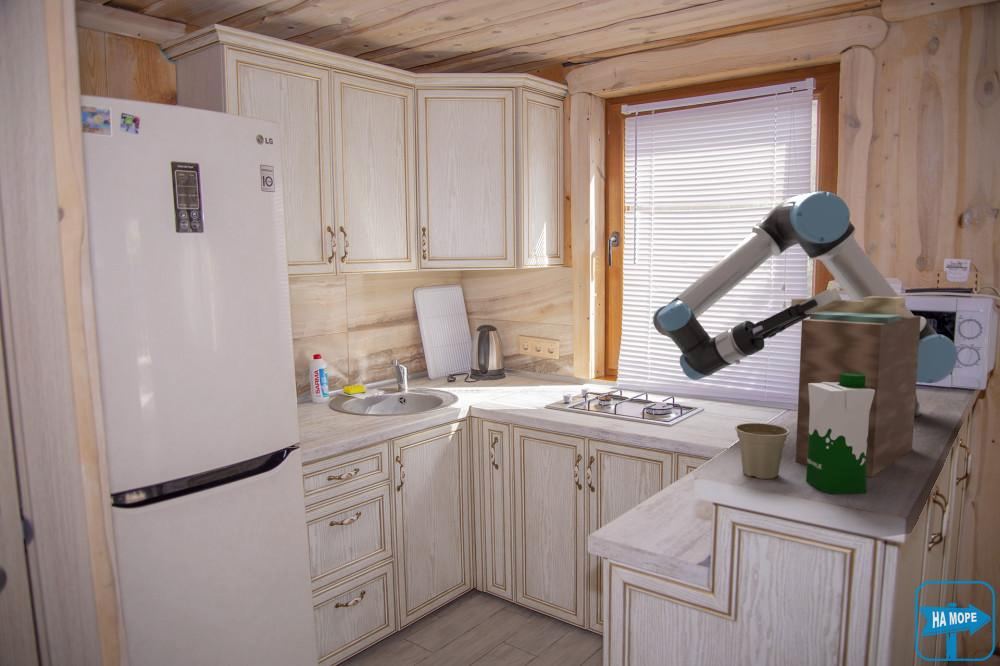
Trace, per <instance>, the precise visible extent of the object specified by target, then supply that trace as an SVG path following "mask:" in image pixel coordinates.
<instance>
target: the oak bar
mask: <svg viewBox="0 0 1000 666" xmlns="http://www.w3.org/2000/svg"><path fill="white" fill-rule="evenodd" d="M808 299H809V298H799V297H798V298H791V302H790V303H791V304H790V306H795V305H797V304H800V303H802V302H804V301H806V300H808ZM905 305H906V297H905V296H899V297H885V296H870V297H864V300H863V301H852V300H851V299H849V300H847V299H845V300H843V299H842V300H835V301H833V302H831V303H829V304H827V305H825V306H823V307H821V308H819V309H817V310H815V311H813V312H811V313H818V312H824V311H827V312H846V313H866V314H885V315H901V318H902V317H904V314H905ZM800 306H801V304H800ZM804 313H805V312H804ZM811 313H809V314H811ZM805 314H806V313H805Z"/></svg>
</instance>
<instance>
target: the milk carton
mask: <svg viewBox="0 0 1000 666" xmlns="http://www.w3.org/2000/svg"><path fill="white" fill-rule="evenodd" d="M865 378H866V376H865V374H861V373H851V372H844V373H840V380H839V382H822V383H808V387H809V401H810V417H809V440H808V460H807V464H806V475H805V476H806V478H805V480H806V481H805V482H807V483H808V484H810V485H812V486H813V487H815V488H817V489H818V490H820V491H822V492H823V493H824V494H827V495H831V494H832V495H833V494H834V495H837V494H839V495H841V494H864V493H865V494H866V493H867V476H866V460H867V442H868V425H869V412H870V408H871V404H872V401H873V397H874V393H875V390H873V389H871V388H868V387H867V386H865Z"/></svg>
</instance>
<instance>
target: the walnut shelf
mask: <svg viewBox="0 0 1000 666" xmlns="http://www.w3.org/2000/svg"><path fill="white" fill-rule="evenodd" d="M921 317H922V316H921V315H914V316H909V315H904V317H902V318H901V315H885V314H866V313H846V312H827V311H824V312H818V313H811V314H810V317H809V318H806V319H804V320H802V321H801V334H800V357H799V359H800V360H799V378H798V399H797V401H798V403H797V417H796V418H797V419H796V420H797V424H796V425H797V426H796V440H795V441H796V443H795V447H796V448H795V463H800V464H804V465H807V460H808V440H809V417H810V401H809V387H808V383H822V382H839V380H840V373H844V372H851V373H861V374H865V376H866V378H865V386H867V387H868V388H871V389H873V390H875V393H874V397H873V401H872V404H871V408H870V412H869V425H868V442H867V460H866V477H869V478H873V477H876V475H877V473H878V474H879V473H880V471H881V470H882V471H884V470H885V469H887V468H888V467H890V466H891V465H892V464H893V463H895V462H896V461H898V460H900V459H901V458H902V457H904V456H905V455H907V454H908V453H910V452H911V451H913V443H914V441H913V440H914V429H915V428H914V427H915V416H914V413H915V398H916V395H917V383H918V382H917V366H918V350H919V334H920V319H921ZM903 455H904V456H903ZM900 457H901V458H900ZM897 459H898V460H897ZM890 464H891V465H890ZM887 466H888V467H887ZM884 468H885V469H884ZM882 471H881V472H882Z"/></svg>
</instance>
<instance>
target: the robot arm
mask: <svg viewBox="0 0 1000 666" xmlns="http://www.w3.org/2000/svg"><path fill="white" fill-rule="evenodd" d="M850 217H851V212H850V209H849V207H848V204H847V203H846V202H845V201H844V199H842V197H840V196H839V195H837V194H836V193H834V192H833V193H832V192H829V191H823V190H815V191H809V192H806V193H803V194H799V195H793V196H790V197H788V198H785V199H784V200H783V201H781V202H779V203H778V204H777V205H776V206H775V207H774V208H772V210H770V211H769V212H768V213H767V214H766V215H765V216H764V217H763V218H762V219H761V220H759V221H758V222H757V223H756V224H755V225H753V227H752V228H751V229H752V230H751V233H750V234H749V235H748V236H747V237H746V238H745V239H744V240H743V241H741V242H740V243H739V244H737V245H736V246H735V247H734V248H733V249H732V250H731V251H729V252H728V253H727V254H725V256H723V257H722V258H721V259H720V260H718V261H717V262H716V263H715V264H714V265H713V266H711V268H709V269H708V270H707V271H706V272H704V273H703V274H702V275H701V276H700V277H699V278H697V279H695V281H694V282H693V283H691V284H690V285H689V286H688V287H687V288H686V289H685V290H683V291H682V292H681V293H680V294H679V295H677V296H676V297H674V299H672V300H671V301H670V302H669V303H668V304H667V305H663V306H661V307H659V308H657V310H655V312H654V313H653V317H652V324H653V327H654V328H655V329H656V331H657V332H658V333H660V334H661V335H662V336H666V337H668V338H669V339H671V340H672V341H673V342H674V344H675V345H676V346H677V347H678V349H679V351H680V352H681V353H682V354H681V355H680V357H679V365H680V367H681V368H682V373H684V374H685V376H686V377H687V378H688V379H691V380H693V381H698V380H701V379H704V378H706V377H709V376H712V375H713V374H715V373H717V372H719V371H721V370H723V369H725V368H727V367H730V366H731V365H733V364H737V365H739V364H741V360H743V359H745V358H747V357H748V356H752V355H755V354H757V353H759V352H760V351H761V352H762V350H764V348H765V340H766V339H770V338H772V337H774V336H776V335H777V334H778V333H782V332H783V331H784V330H786V329H788V328H790V327H792V326H794V325H796V324H799V323H800V322H802V320H805V319H809V318H810V314H809V313H811V312H813V311H815V310H817V309H819V308H821V307H823V306H825V305H827V304H829V303H831V302H833V301H835V300H843V299H842V297H841V295H840V293H839V292H838V289H837V288H835V287H834V288H833V289H830V288H827V289H826V290H824V291H821V292H819V293H817V294H816V295H814V296H811V297H810V298H807V299H808V300H806V301H804V302H802V303H800V304H801V306H800V304H797V305H795V306H791V305H790V306H789V307H787V308H785V309H784V310H781V311H779V312H777V313H775V314H773V315H772V316H769V317H767V318H765V319H763V320H760V321H758V322H756V323H755V322H753V321H750V320H745V321H742V322H741V323H739V324H737V325H735V326H733V327H731V328H729V329H726V330H725V331H722V332H721V333H719V334H717V335H716V336H714V337H711V336H710V335H709V333H708V332H707V331H706V330H705V328H703V327H704V326H702V325H701V323H700V322H699V320H698V318H699V317H700V316H702V315H703V314H704V313H705V312H706V311H708V309H709V310H710V308H712V307H713V306H714V305H715V304H716V303H717V302H718V301H720V300H721V299H722V298H723V297H724V296H726V295H727V294H728V293H729V292H731V290H733V289H734V288H735V287H737V286H738V285H739V284H740V283H741V282H742V281H744V280H745V279H746V278H747V277H748V276H750V275H751V274H752V273H753V272H754V271H755V270H757V269H758V268H759V267H760V266H761V265H762V264H764V263H765V262H767V260H769V259H770V258H771V257H772V256H780V255H781V254H782V253H783V252H785V251H786V250H788V249H789V248H791V247H793V246H795V245H799V246H800V247H801V248H802V250H803V251H804V252H805V253H806V255H807V256H808V257H809V258H810V259H811V260H817V261H818V260H819V261H821V263H822V264H823V266H825V269H827V271H828V272H829V273H830V275H831V276H833V278H834V279H835V280H836V282H837V283H838V285H839V286H840V287H841V288H842V290H843V291H844V292H845V293H846V295H847V296H848V297H849V299H850V300H852V301H863V300H864V297H870V296H885V297H900V296H899V295H898V293H897V292H896V291H895V290H894V288H893V287H892V286H891V284H890V283H889V282H888V280H887V279H886V278H885V277H884V276H883V274H882V273H881V272H880V270H879V269H878V267H877V266H876V265H875V263H873V261H872V260H871V258H870V257H869V256H868V255H867V253H866V252H865V250H864V249H863V248H862V247H861V245H860V244H859V243H858V241H856V239H855V237H854V236H855V234H856V233H855V232H856V227H855V226H854V225H853V224H852V222H851V221H850ZM804 312H805V313H806V314H805V313H804ZM904 315H909V316H915V315H914V313H912V311H911V310H910V309H909V307H908V306H907V304H905V314H904ZM955 344H956V343H954V342H953V340H951V339H950V338H949V337H947V336H945V335H944V334H938V333H937V332H936V330H935V329H934V328H933V326H932V325H931V324H930V323H929V321H928V320H927V319H926V318H925V317H924V316H921V319H920V334H919V350H918V366H917V382H916V383H921V384H922V383H924V384H935V383H936V384H937V383H938V382H941V381H943V380H945V379H946V378H948V377H949V376H950V374H952V372H953V371H954V370H955V368H956V366H957V361H958V358H959V356H958V355H959V354H958V353H959V352H958V349H957V347H956V345H955ZM920 414H921V405H920V403H919V402H918V395H917V394H916V398H915V413H914V417H917V416H920Z"/></svg>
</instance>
